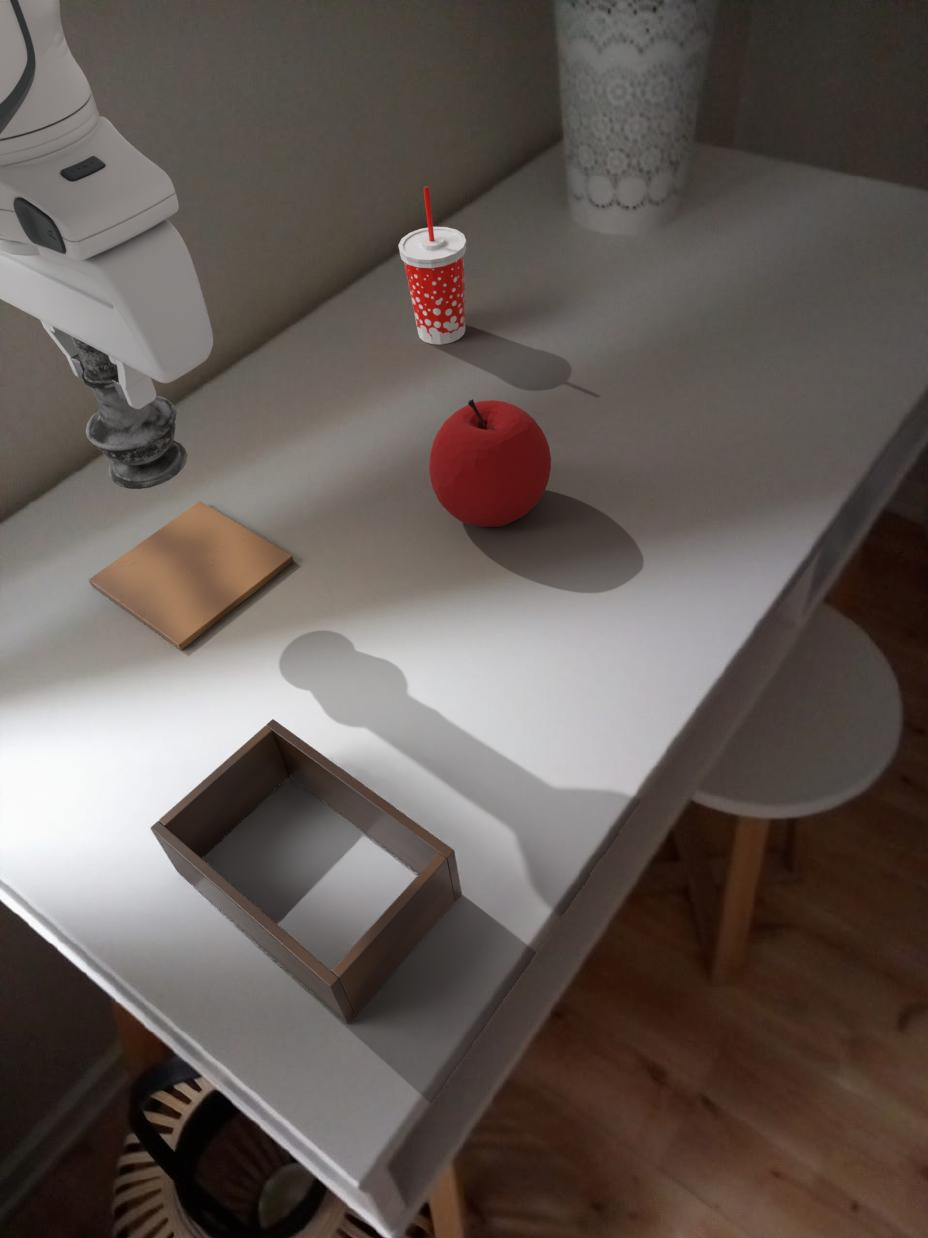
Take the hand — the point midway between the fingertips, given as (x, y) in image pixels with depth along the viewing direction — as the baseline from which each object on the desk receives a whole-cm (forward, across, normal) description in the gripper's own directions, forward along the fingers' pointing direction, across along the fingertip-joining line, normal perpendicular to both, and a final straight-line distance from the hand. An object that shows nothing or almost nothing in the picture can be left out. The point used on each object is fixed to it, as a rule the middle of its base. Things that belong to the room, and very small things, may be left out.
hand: (117, 388), depth 61 cm
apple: (+17, +14, +19) cm, 29 cm away
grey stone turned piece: (+6, 0, 0) cm, 6 cm away
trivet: (+17, 0, 0) cm, 17 cm away
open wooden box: (+17, +26, -12) cm, 33 cm away
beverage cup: (+17, -6, +36) cm, 40 cm away
